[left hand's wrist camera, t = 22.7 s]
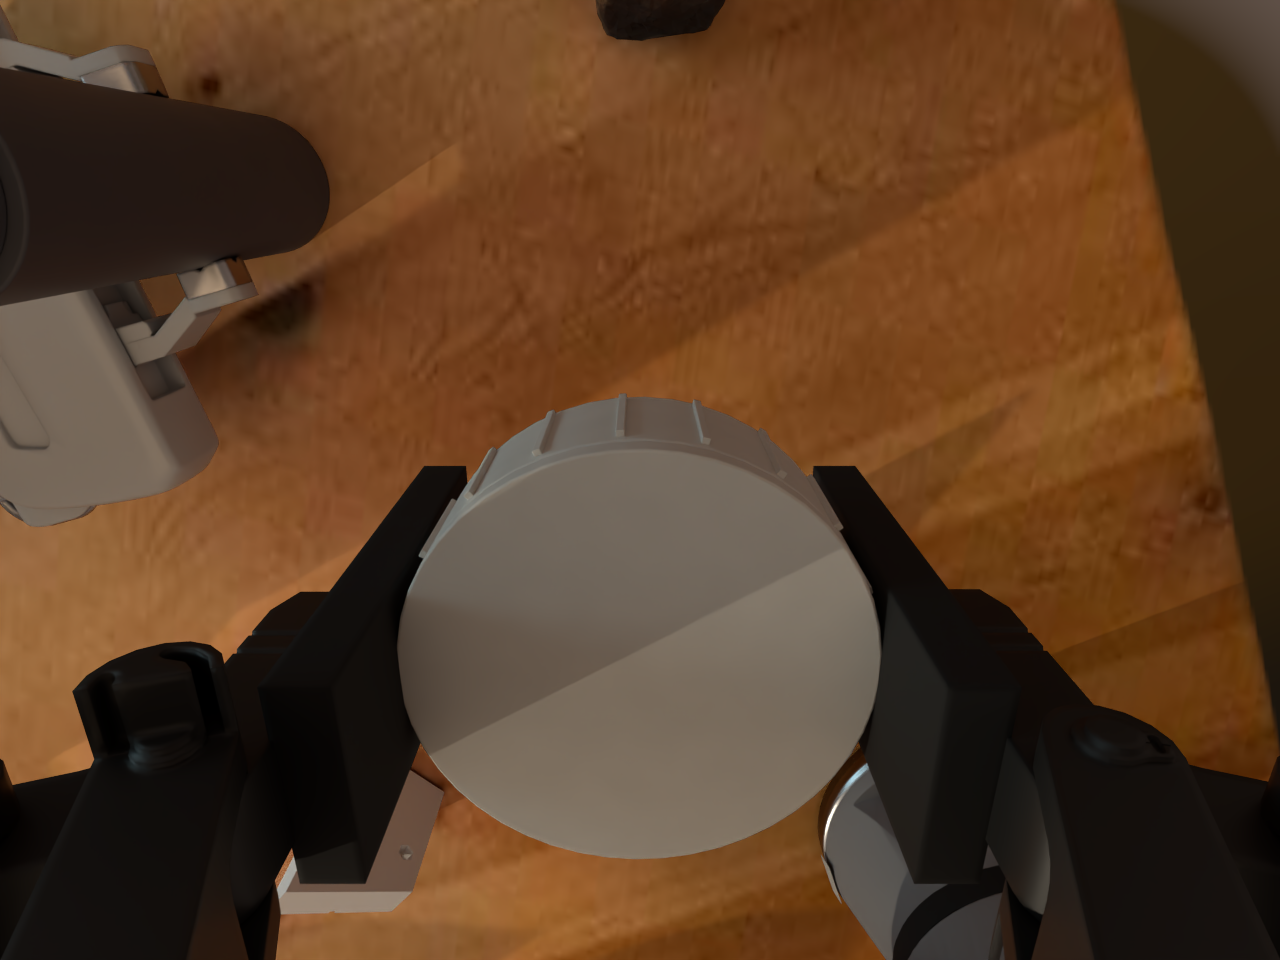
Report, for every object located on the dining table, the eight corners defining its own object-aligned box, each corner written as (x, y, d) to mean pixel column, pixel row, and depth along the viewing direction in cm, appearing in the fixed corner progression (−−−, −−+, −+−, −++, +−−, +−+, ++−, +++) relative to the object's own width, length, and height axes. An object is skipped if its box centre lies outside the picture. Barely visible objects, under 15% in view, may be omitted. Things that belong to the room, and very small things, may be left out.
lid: (867, 710, 13) (914, 819, 11) (506, 781, 14) (480, 897, 11) (808, 346, 11) (851, 388, 9) (376, 448, 11) (312, 513, 9)
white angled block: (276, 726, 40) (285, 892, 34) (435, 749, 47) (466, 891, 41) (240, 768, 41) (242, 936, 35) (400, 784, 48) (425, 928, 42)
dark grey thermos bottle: (184, 215, 34) (-373, 253, 15) (219, 89, 32) (-363, -44, 13) (306, 275, 34) (-79, 378, 16) (347, 155, 33) (-32, 116, 14)
